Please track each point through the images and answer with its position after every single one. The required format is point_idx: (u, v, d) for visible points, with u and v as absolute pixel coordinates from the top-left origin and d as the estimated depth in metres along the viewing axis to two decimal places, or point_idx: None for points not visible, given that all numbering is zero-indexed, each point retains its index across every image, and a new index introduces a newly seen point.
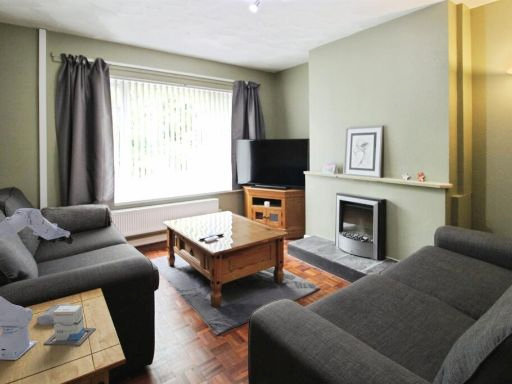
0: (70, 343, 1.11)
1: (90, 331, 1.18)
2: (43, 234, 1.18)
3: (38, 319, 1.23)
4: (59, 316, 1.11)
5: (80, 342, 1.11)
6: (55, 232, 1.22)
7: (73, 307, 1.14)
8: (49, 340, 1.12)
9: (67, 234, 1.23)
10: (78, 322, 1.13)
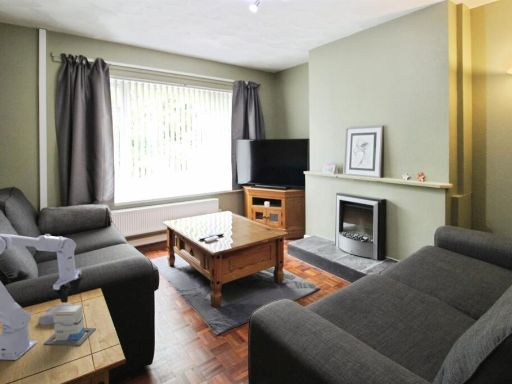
0: (70, 343, 1.11)
1: (90, 331, 1.18)
2: None
3: (40, 319, 1.23)
4: (59, 316, 1.11)
5: (80, 342, 1.11)
6: (62, 278, 1.19)
7: (73, 307, 1.14)
8: (49, 340, 1.12)
9: (54, 286, 1.15)
10: (78, 322, 1.13)
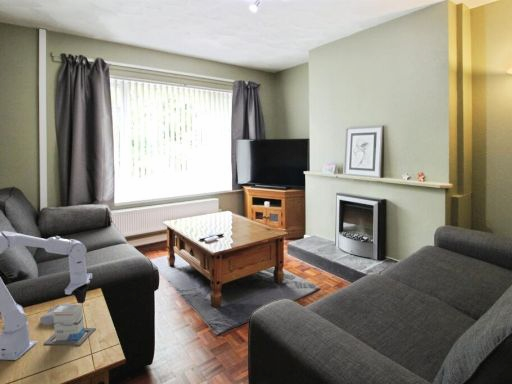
0: (70, 343, 1.11)
1: (90, 331, 1.18)
2: None
3: (41, 319, 1.23)
4: (59, 316, 1.11)
5: (80, 342, 1.11)
6: (73, 282, 1.17)
7: (73, 307, 1.14)
8: (49, 340, 1.12)
9: (66, 291, 1.13)
10: (78, 322, 1.13)
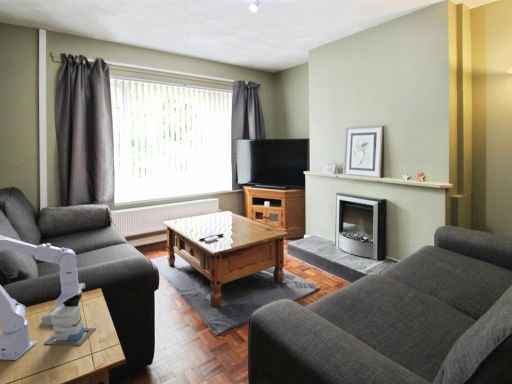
0: (70, 343, 1.11)
1: (90, 331, 1.18)
2: None
3: (43, 319, 1.23)
4: (57, 319, 1.10)
5: (80, 342, 1.11)
6: (64, 293, 1.12)
7: (70, 309, 1.12)
8: (49, 340, 1.12)
9: (56, 303, 1.08)
10: (76, 323, 1.12)
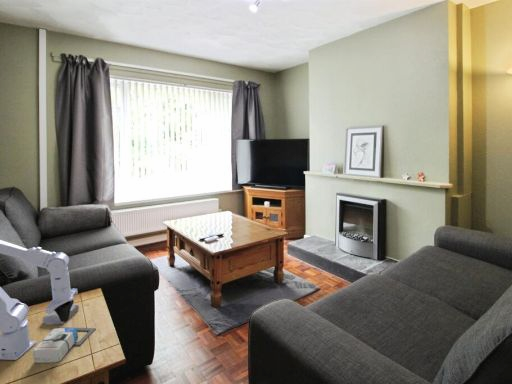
0: None
1: (90, 331, 1.18)
2: None
3: (44, 319, 1.23)
4: None
5: (80, 342, 1.11)
6: (55, 300, 1.08)
7: (51, 354, 1.01)
8: None
9: (47, 310, 1.03)
10: (68, 348, 1.06)
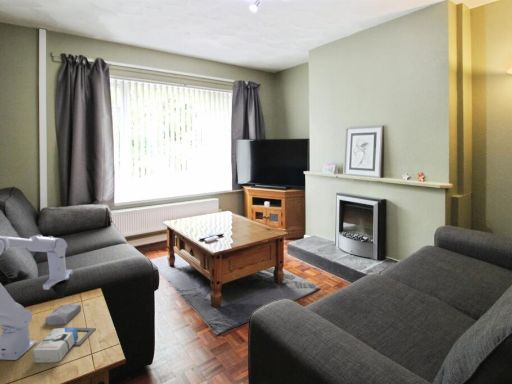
0: None
1: (90, 331, 1.18)
2: None
3: (46, 319, 1.23)
4: None
5: (80, 342, 1.11)
6: (52, 278, 1.20)
7: (51, 354, 1.01)
8: None
9: (44, 286, 1.15)
10: (68, 348, 1.06)
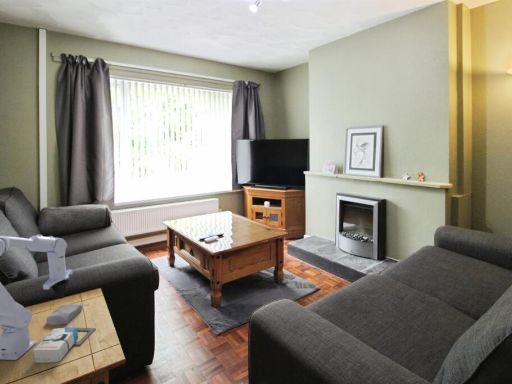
0: None
1: (90, 331, 1.18)
2: None
3: (48, 319, 1.23)
4: None
5: (80, 342, 1.11)
6: (52, 278, 1.20)
7: (51, 354, 1.01)
8: None
9: (44, 286, 1.16)
10: (68, 348, 1.06)
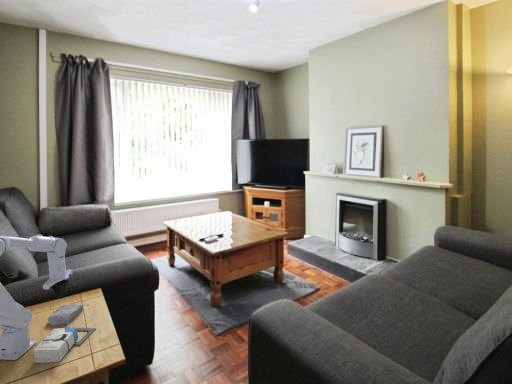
0: None
1: (90, 331, 1.18)
2: None
3: (49, 319, 1.23)
4: None
5: (80, 342, 1.11)
6: (52, 278, 1.20)
7: (51, 354, 1.01)
8: None
9: (44, 286, 1.16)
10: (68, 348, 1.06)
